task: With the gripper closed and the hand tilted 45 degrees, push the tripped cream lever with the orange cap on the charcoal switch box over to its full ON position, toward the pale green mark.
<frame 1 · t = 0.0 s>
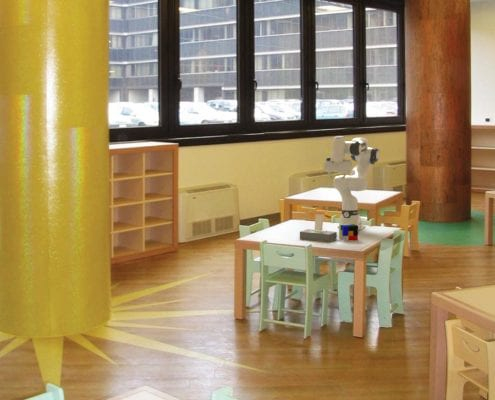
hand: (337, 178, 585), 39 cm above the table, tool pointing down, fingers open, 8 cm apart
lever: (319, 220, 567), point 12 cm above the table, hinge at -8.0°
puzzle toy: (348, 239, 567), on the table
switch box: (318, 239, 568), on the table
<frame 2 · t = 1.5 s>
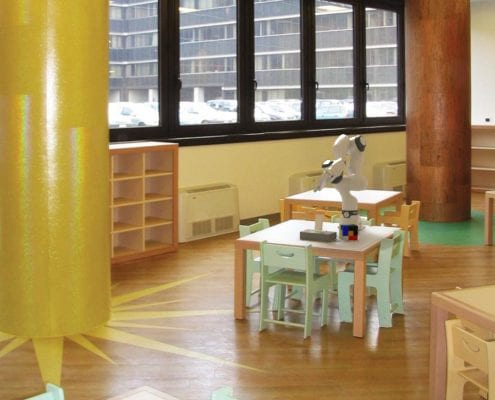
hand: (314, 189, 578), 33 cm above the table, tool tilted 55°, fingers open, 8 cm apart
nothing on the table moved.
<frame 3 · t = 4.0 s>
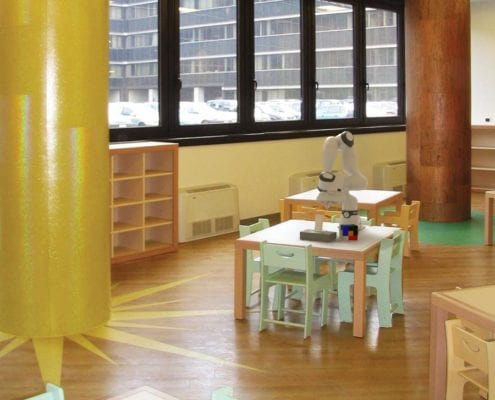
hand: (326, 207, 579), 20 cm above the table, tool tilted 45°, fingers closed
nothing on the table moved.
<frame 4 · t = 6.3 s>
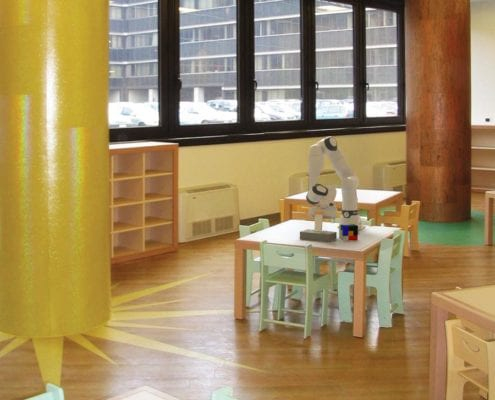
hand: (318, 222, 568), 11 cm above the table, tool tilted 45°, fingers closed, pressing on lever
lever: (318, 220, 566), point 12 cm above the table, hinge at -2.9°, touching gripper
everything else where it was.
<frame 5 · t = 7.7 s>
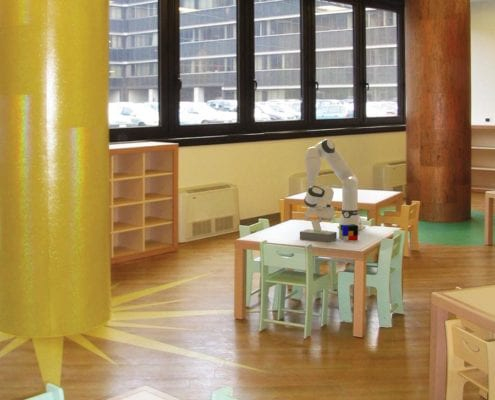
hand: (316, 224, 565), 11 cm above the table, tool tilted 45°, fingers closed, pressing on lever
lever: (315, 223, 563), point 11 cm above the table, hinge at 31.8°, touching gripper
everything else where it was.
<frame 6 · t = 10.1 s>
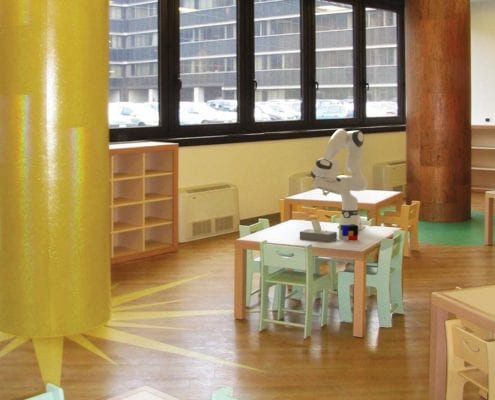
hand: (324, 194, 573), 29 cm above the table, tool tilted 45°, fingers closed
lever: (315, 223, 563), point 11 cm above the table, hinge at 31.8°
everything else where it was.
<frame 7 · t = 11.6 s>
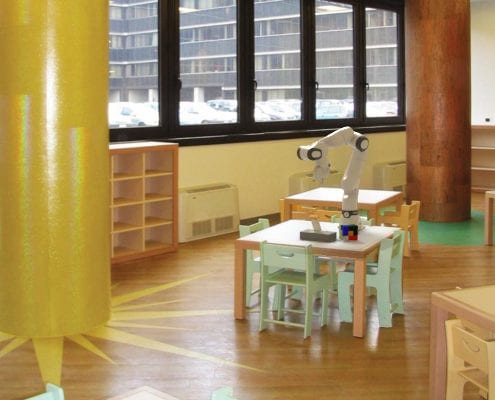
hand: (321, 184, 582), 35 cm above the table, tool pointing down, fingers closed
nothing on the table moved.
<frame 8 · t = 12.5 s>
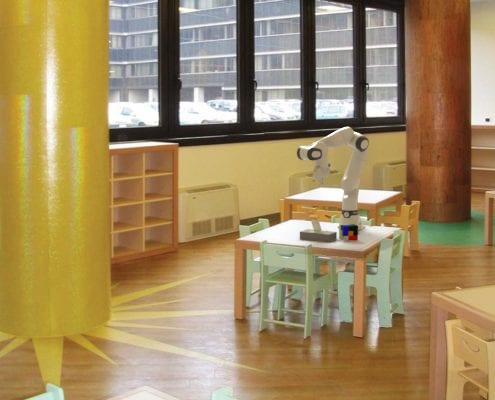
hand: (321, 184, 582), 35 cm above the table, tool pointing down, fingers closed
nothing on the table moved.
at the end: lever at +32° (first picture: -8°); puzzle toy moved 0.3 cm from its start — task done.
